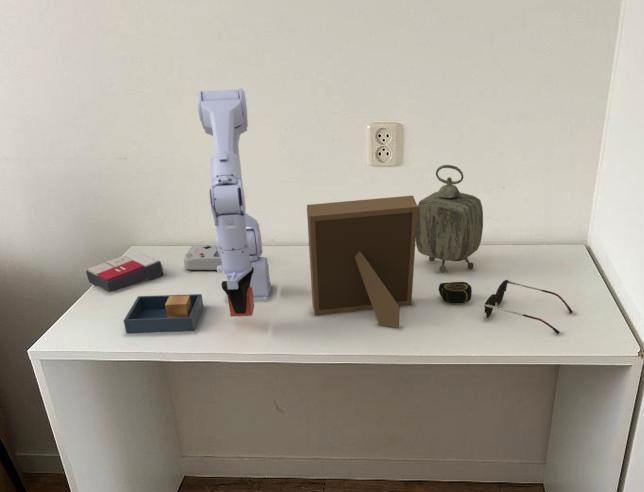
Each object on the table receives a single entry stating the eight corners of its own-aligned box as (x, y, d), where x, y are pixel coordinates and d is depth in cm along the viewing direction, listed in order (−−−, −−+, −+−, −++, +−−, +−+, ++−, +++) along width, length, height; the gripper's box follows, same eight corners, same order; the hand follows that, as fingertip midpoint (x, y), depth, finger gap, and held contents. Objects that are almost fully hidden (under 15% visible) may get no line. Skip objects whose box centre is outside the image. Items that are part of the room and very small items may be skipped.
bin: (204, 308, 167) (201, 293, 165) (194, 333, 157) (191, 318, 155) (141, 310, 167) (137, 296, 165) (126, 335, 157) (123, 320, 155)
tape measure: (467, 294, 168) (468, 278, 166) (473, 306, 163) (474, 290, 161) (438, 295, 168) (438, 280, 166) (443, 308, 162) (443, 292, 160)
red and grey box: (84, 268, 180) (137, 248, 188) (89, 284, 182) (142, 263, 190) (105, 280, 173) (160, 258, 181) (110, 296, 175) (164, 274, 184)
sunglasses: (502, 298, 166) (505, 277, 163) (573, 314, 160) (577, 293, 157) (481, 323, 156) (484, 301, 153) (556, 341, 150) (560, 319, 147)
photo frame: (312, 307, 165) (303, 196, 151) (407, 297, 168) (406, 187, 154) (320, 337, 153) (311, 219, 139) (422, 325, 156) (423, 209, 142)
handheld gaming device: (194, 258, 193) (191, 244, 191) (248, 258, 191) (246, 244, 189) (184, 272, 186) (181, 257, 183) (240, 272, 184) (238, 257, 182)
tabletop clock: (480, 268, 181) (486, 164, 167) (464, 281, 174) (469, 174, 160) (428, 258, 187) (430, 157, 173) (411, 270, 181) (411, 166, 167)
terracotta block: (254, 306, 157) (252, 287, 154) (252, 315, 153) (249, 295, 151) (233, 307, 157) (230, 287, 154) (230, 316, 153) (227, 296, 151)
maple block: (193, 313, 163) (189, 295, 161) (189, 323, 160) (185, 304, 157) (172, 314, 163) (169, 296, 161) (168, 323, 160) (164, 304, 157)
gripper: (219, 233, 153) (228, 294, 161) (207, 259, 141) (217, 323, 149) (253, 232, 153) (260, 292, 161) (244, 258, 141) (252, 322, 148)
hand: (242, 307), depth 155 cm, fingers closed on terracotta block, 4 cm apart
